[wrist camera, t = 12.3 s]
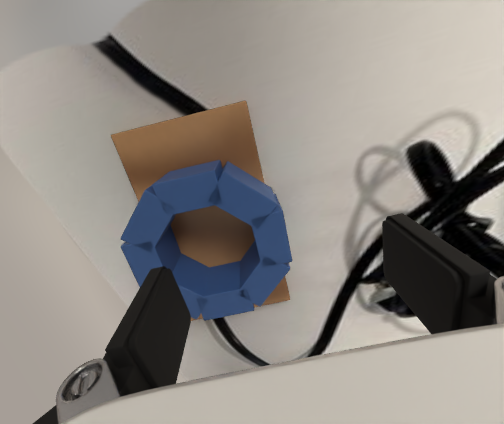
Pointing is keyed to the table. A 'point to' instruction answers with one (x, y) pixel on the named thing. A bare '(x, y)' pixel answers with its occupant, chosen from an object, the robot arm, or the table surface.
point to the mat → (190, 154)
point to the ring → (193, 272)
